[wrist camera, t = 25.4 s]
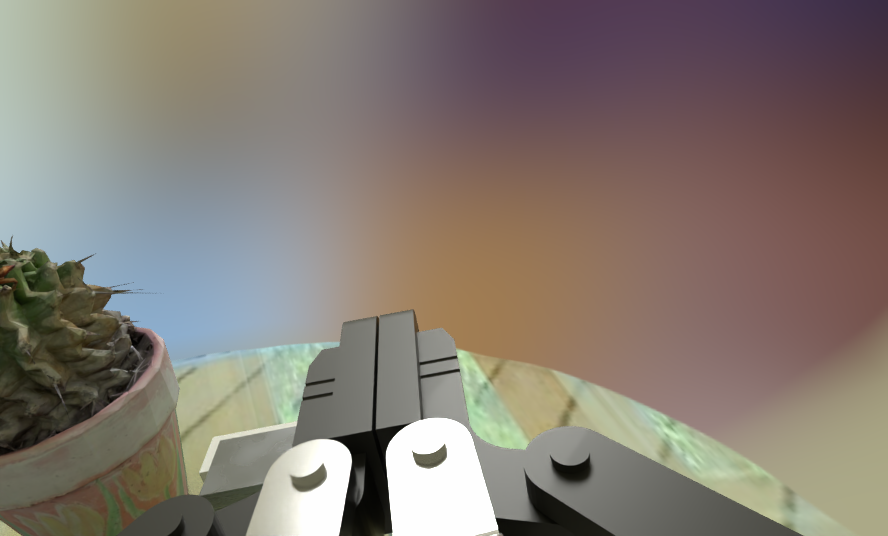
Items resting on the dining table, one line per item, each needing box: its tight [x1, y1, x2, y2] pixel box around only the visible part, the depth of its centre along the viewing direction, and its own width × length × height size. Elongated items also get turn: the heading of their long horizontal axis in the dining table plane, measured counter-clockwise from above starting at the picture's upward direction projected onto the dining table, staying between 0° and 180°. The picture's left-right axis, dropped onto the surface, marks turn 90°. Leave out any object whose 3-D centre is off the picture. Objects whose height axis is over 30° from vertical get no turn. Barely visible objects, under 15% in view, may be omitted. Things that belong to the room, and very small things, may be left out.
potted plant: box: [0, 237, 188, 536], centre depth 42 cm, size 18×20×25 cm
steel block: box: [199, 426, 296, 511], centre depth 34 cm, size 5×4×12 cm
